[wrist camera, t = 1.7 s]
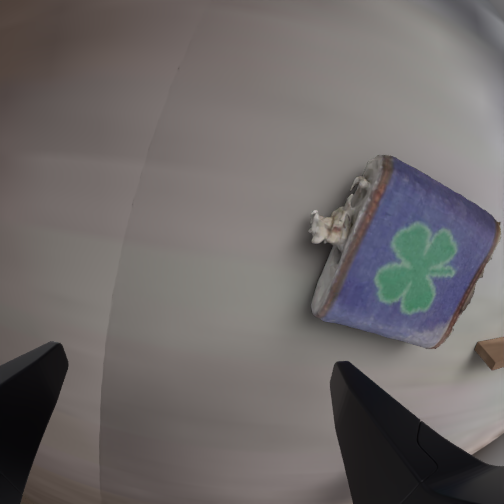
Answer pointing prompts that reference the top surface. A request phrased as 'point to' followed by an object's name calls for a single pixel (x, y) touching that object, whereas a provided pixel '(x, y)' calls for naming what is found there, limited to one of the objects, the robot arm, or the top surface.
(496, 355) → the frame
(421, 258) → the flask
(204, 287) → the top surface
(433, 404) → the top surface
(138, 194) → the top surface
